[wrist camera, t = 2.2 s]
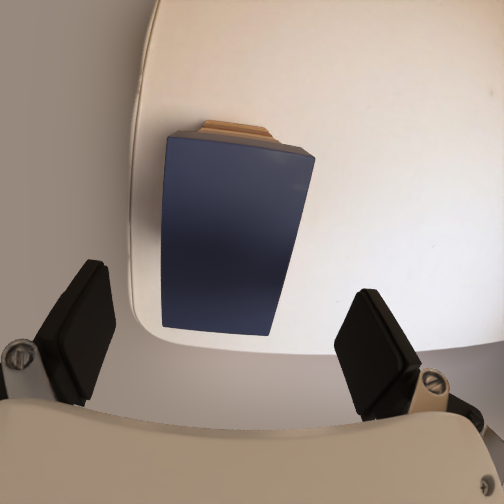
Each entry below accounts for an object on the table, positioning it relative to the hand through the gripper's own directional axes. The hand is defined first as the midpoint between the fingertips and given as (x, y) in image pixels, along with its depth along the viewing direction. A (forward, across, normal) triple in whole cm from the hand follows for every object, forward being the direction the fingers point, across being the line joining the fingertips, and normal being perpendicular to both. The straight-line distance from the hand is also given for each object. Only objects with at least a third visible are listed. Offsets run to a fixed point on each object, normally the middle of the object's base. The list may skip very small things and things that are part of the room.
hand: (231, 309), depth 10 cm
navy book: (+6, 0, 0) cm, 6 cm away
